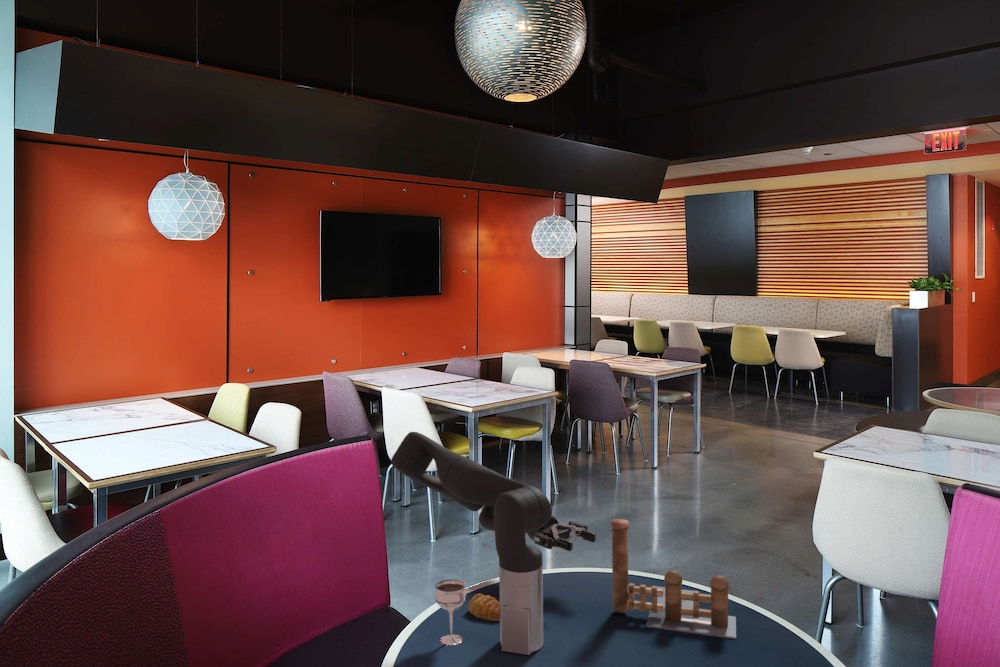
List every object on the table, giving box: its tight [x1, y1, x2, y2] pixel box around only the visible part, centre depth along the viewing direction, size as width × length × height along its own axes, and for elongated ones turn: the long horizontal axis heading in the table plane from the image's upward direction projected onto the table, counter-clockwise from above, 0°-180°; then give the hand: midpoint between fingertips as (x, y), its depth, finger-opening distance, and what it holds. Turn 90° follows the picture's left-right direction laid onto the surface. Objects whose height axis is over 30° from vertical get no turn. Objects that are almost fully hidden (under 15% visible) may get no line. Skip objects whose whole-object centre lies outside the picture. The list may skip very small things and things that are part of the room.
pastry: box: [467, 593, 500, 622], centre depth 162 cm, size 9×7×4 cm
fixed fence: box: [663, 569, 730, 628], centre depth 156 cm, size 4×14×12 cm, turn 71°
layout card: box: [645, 585, 737, 640], centre depth 162 cm, size 22×19×1 cm
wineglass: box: [434, 578, 467, 647], centre depth 150 cm, size 7×7×12 cm
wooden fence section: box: [610, 518, 663, 613], centre depth 159 cm, size 12×4×21 cm, turn 72°
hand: (583, 542), depth 169 cm, fingers open, 8 cm apart
